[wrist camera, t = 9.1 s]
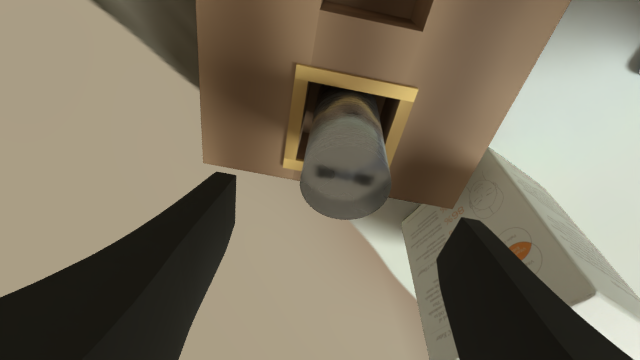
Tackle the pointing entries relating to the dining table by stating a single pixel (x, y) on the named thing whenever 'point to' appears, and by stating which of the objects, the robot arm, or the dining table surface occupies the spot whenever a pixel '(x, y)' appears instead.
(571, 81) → the dining table surface
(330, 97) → the pin
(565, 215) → the small box
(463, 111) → the board
